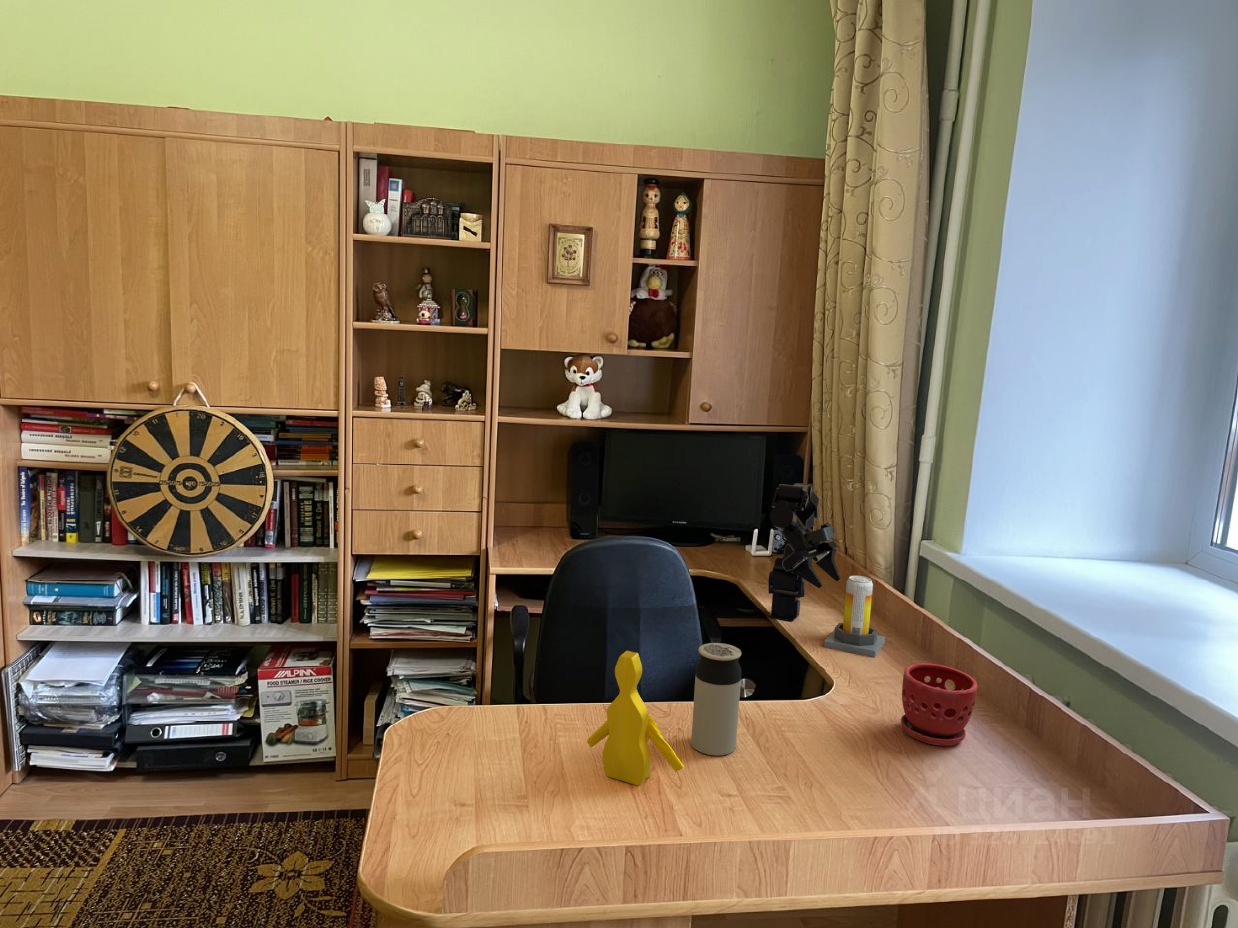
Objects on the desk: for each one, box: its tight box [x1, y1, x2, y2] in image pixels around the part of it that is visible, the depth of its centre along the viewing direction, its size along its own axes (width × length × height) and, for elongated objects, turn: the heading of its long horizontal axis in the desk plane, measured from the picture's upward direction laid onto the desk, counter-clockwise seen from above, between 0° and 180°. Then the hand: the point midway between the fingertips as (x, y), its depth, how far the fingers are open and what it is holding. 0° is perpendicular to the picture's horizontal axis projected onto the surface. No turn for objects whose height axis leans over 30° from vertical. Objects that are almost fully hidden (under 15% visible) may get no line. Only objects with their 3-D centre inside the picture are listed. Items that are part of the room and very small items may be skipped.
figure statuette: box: [586, 650, 685, 787], centre depth 143 cm, size 18×8×22 cm, turn 63°
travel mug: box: [690, 642, 742, 757], centre depth 155 cm, size 8×8×18 cm
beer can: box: [842, 575, 874, 635], centre depth 212 cm, size 6×6×15 cm
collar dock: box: [823, 622, 886, 658], centre depth 213 cm, size 12×12×4 cm
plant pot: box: [900, 662, 979, 747], centre depth 165 cm, size 13×13×12 cm
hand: (829, 583), depth 216 cm, fingers open, 9 cm apart
